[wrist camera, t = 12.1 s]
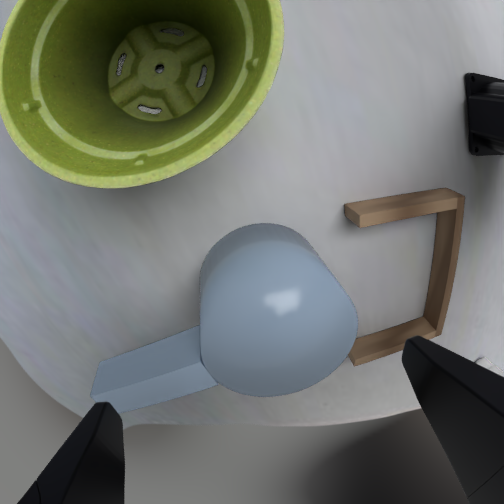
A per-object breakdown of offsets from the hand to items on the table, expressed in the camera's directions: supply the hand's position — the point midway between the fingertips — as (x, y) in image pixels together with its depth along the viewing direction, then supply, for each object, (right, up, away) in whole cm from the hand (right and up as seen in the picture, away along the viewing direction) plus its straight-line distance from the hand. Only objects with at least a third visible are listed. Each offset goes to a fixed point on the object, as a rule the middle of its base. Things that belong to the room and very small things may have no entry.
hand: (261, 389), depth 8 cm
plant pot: (-5, +14, +6) cm, 16 cm away
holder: (+11, +2, +14) cm, 18 cm away
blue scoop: (-3, 0, +13) cm, 13 cm away
